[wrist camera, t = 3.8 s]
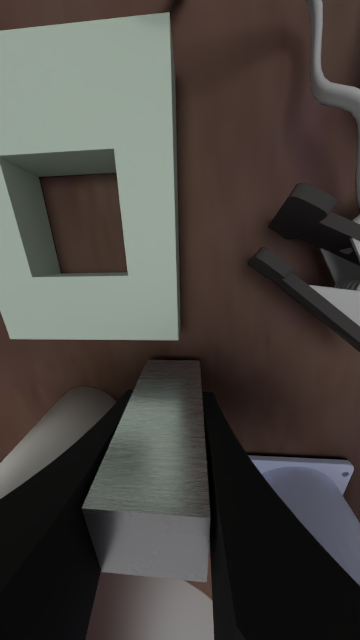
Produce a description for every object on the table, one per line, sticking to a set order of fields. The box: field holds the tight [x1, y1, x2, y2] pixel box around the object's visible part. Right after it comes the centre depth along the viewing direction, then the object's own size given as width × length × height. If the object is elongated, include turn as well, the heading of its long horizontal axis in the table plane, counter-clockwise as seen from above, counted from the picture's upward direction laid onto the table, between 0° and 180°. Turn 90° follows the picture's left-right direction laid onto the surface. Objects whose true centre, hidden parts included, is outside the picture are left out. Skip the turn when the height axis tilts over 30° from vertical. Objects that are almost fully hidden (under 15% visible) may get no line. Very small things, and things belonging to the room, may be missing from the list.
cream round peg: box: [0, 386, 116, 499], centre depth 11 cm, size 5×5×7 cm
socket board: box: [0, 12, 181, 340], centre depth 9 cm, size 11×9×2 cm
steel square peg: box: [82, 360, 210, 582], centre depth 8 cm, size 3×3×7 cm
